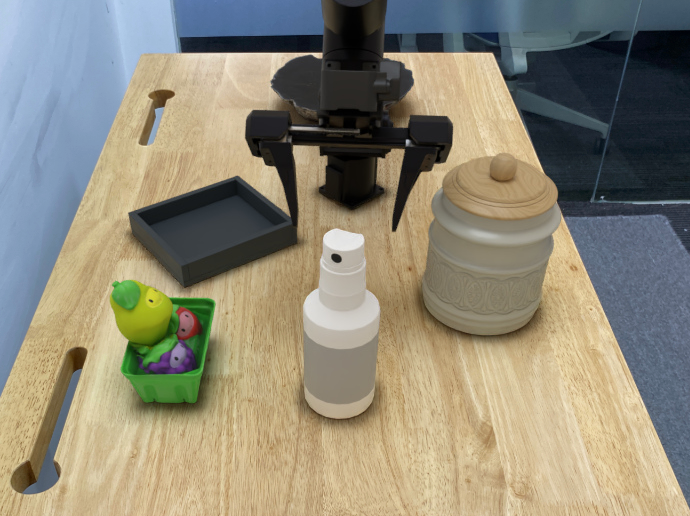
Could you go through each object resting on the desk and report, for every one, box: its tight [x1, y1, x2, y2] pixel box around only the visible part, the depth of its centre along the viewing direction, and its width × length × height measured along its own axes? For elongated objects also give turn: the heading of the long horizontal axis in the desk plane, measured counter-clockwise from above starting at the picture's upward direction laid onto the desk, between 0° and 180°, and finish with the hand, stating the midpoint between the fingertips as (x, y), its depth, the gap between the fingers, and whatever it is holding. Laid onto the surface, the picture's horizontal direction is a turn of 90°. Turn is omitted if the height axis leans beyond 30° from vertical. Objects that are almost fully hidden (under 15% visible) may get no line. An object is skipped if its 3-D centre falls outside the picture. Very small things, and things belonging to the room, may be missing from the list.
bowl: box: [269, 54, 415, 123], centre depth 118 cm, size 22×22×5 cm
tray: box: [127, 175, 298, 288], centre depth 94 cm, size 16×14×3 cm
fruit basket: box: [109, 279, 217, 404], centre depth 74 cm, size 11×9×11 cm
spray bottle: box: [302, 227, 381, 420], centre depth 69 cm, size 7×7×18 cm
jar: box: [421, 152, 562, 336], centre depth 80 cm, size 13×13×18 cm
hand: (344, 229), depth 72 cm, fingers open, 9 cm apart
